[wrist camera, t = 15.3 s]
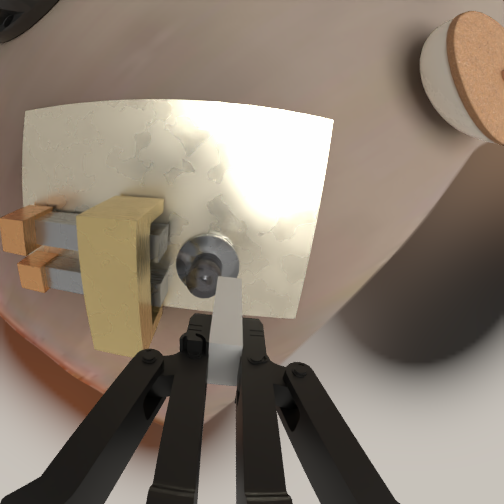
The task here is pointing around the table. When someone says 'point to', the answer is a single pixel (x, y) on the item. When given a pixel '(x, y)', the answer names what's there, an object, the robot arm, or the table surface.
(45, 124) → the tongs base
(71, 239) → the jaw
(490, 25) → the lidded jar
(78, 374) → the table surface
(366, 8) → the table surface
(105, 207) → the tan rectangular block
